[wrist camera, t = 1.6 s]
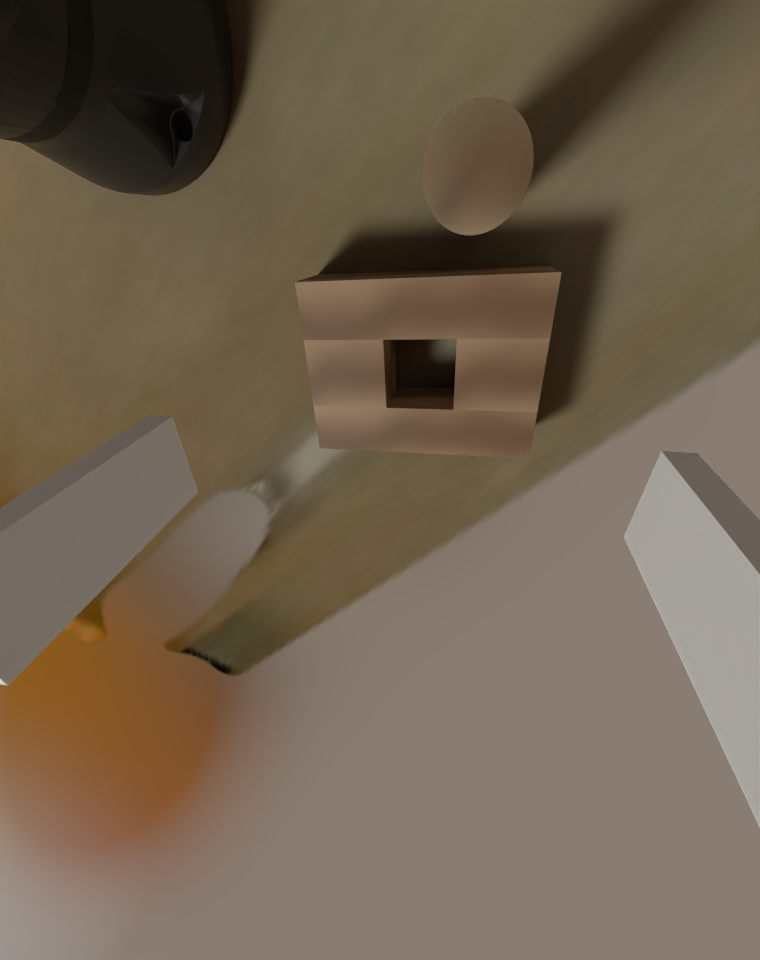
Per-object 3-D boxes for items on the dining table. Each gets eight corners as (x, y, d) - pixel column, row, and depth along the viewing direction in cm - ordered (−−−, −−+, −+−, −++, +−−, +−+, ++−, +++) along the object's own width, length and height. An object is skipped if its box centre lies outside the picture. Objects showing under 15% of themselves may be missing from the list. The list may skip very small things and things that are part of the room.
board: (317, 274, 29) (294, 282, 25) (549, 265, 26) (561, 271, 22) (336, 424, 35) (320, 448, 32) (523, 431, 32) (529, 458, 28)
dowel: (446, 161, 24) (420, 103, 12) (510, 155, 23) (544, 86, 12) (444, 232, 26) (420, 240, 14) (503, 229, 25) (526, 233, 14)
